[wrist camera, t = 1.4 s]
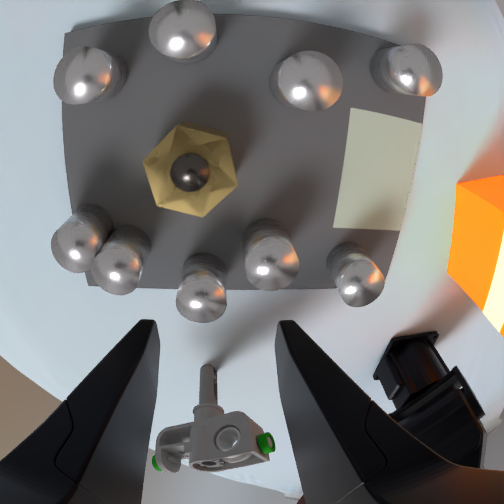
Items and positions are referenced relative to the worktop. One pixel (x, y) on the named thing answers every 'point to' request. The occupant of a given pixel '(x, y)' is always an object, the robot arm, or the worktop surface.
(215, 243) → the mat
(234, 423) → the mechanical component
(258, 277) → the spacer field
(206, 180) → the nut
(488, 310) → the orange juice
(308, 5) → the worktop surface
